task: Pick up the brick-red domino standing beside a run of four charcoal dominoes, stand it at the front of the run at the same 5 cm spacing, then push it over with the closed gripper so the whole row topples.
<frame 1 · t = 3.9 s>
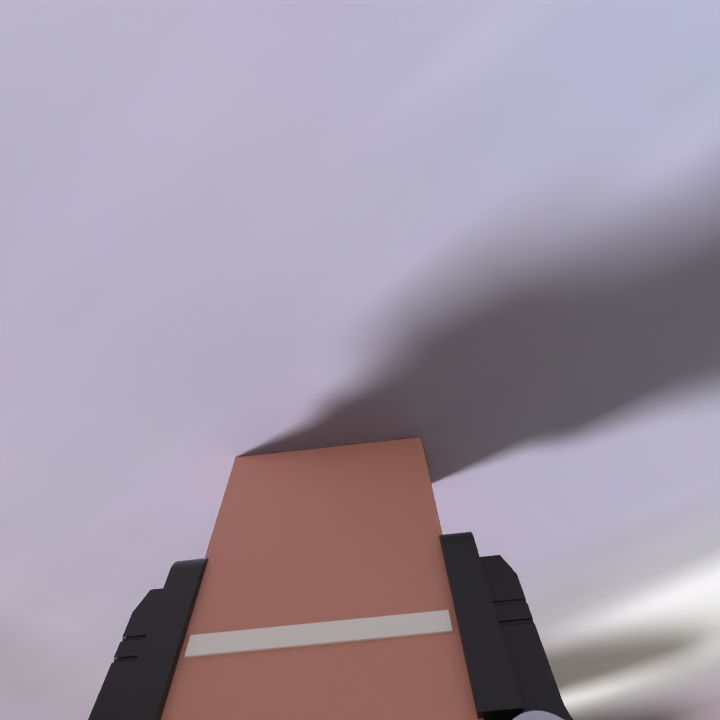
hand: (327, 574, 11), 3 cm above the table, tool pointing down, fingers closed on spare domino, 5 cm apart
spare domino: (332, 472, 14), on the table, touching gripper
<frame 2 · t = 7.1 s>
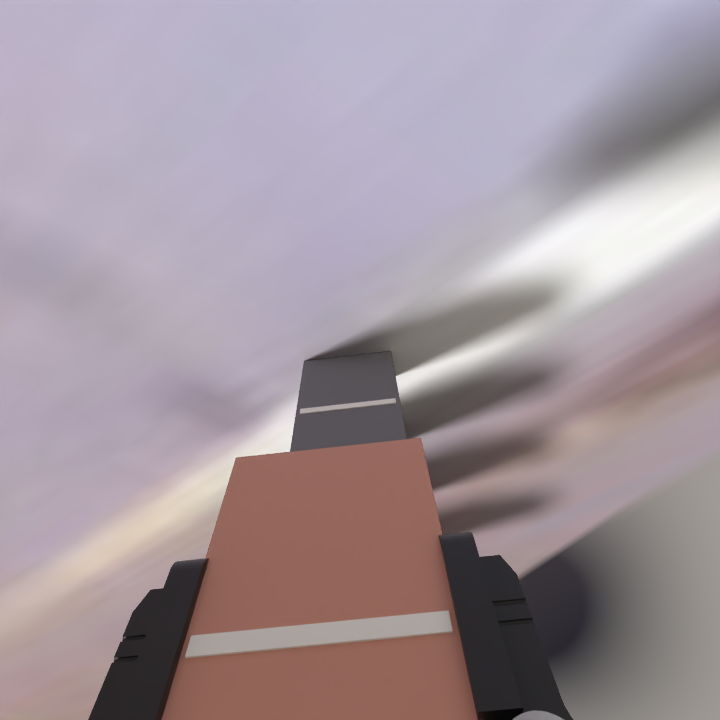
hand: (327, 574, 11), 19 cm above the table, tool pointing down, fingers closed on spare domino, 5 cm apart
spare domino: (332, 472, 14), point 15 cm above the table, touching gripper
domino 2: (349, 369, 30), on the table
when the fingers open (4 cm above the table, at t = 10.1 s): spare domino stays where it is, on the table.
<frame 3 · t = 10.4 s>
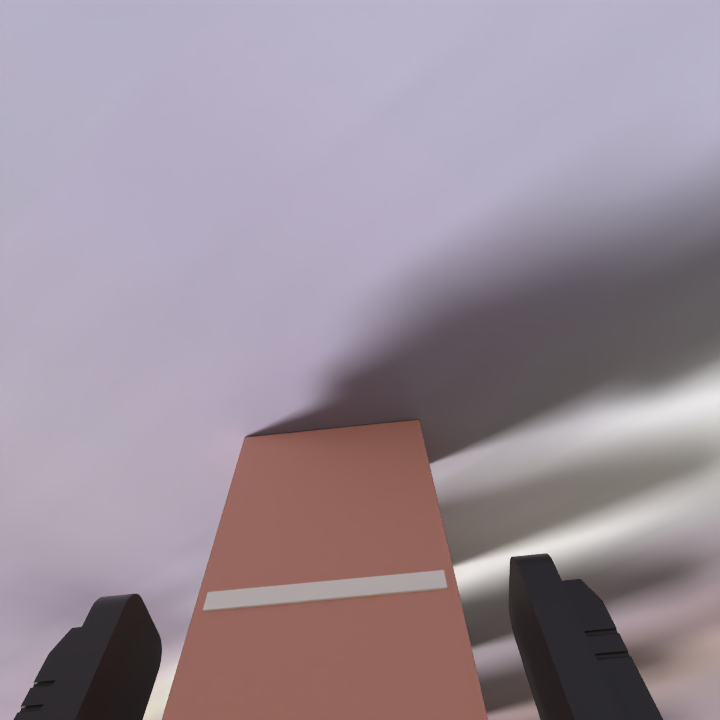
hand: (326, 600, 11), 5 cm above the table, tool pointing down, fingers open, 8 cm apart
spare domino: (335, 452, 15), on the table
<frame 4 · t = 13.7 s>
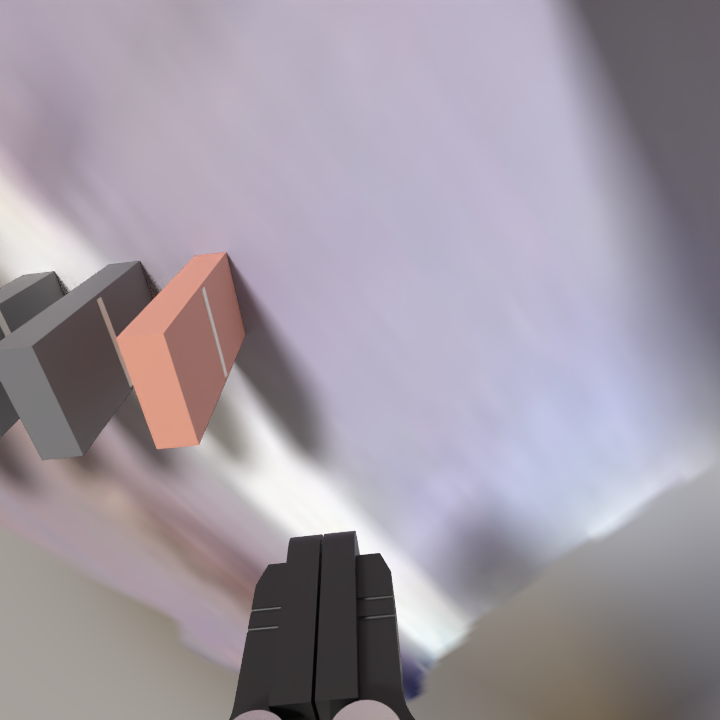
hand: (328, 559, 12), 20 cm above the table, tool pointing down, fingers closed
domino 3: (56, 314, 30), on the table
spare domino: (221, 296, 30), on the table
domino 2: (138, 305, 30), on the table
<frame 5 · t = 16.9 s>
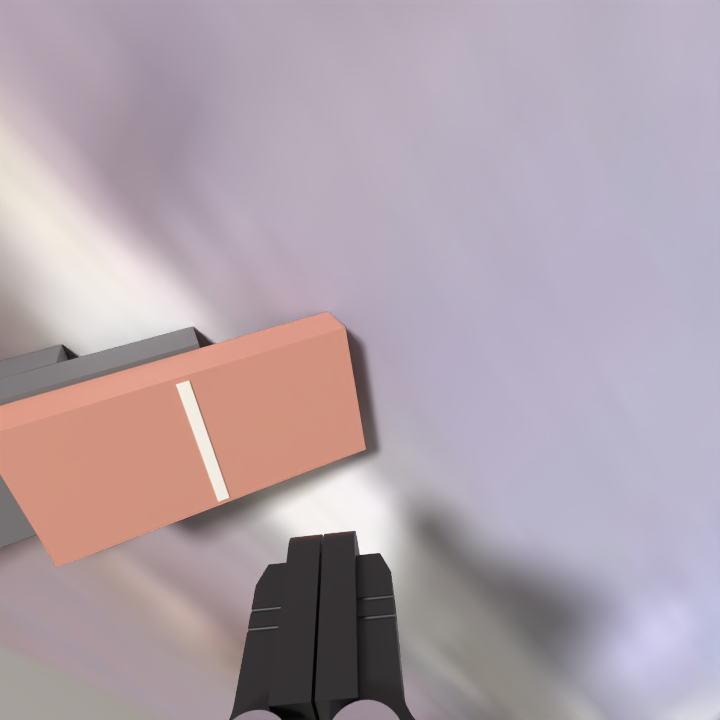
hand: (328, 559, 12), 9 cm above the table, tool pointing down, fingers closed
domino 3: (87, 412, 19), point 1 cm above the table, tilted 68°, touching domino 2, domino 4
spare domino: (347, 382, 19), point 1 cm above the table, tilted 68°, touching domino 2
domino 2: (215, 396, 19), point 1 cm above the table, tilted 68°, touching domino 3, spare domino
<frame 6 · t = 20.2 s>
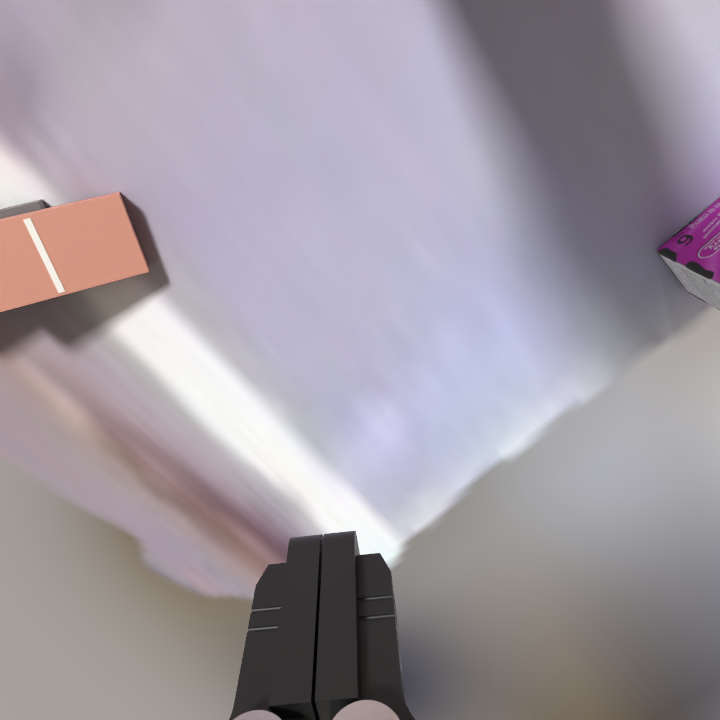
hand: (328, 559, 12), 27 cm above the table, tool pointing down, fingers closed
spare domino: (134, 232, 34), point 1 cm above the table, tilted 69°, touching domino 2
domino 2: (58, 239, 34), point 1 cm above the table, tilted 69°, touching domino 3, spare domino
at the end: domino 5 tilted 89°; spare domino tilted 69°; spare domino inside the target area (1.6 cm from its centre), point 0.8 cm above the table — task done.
